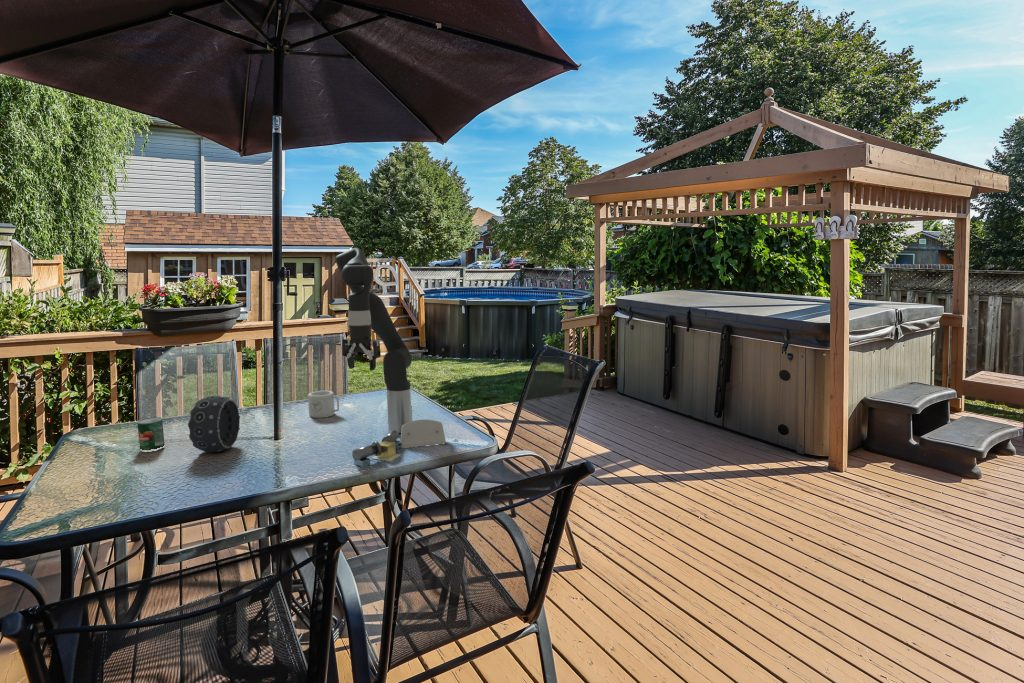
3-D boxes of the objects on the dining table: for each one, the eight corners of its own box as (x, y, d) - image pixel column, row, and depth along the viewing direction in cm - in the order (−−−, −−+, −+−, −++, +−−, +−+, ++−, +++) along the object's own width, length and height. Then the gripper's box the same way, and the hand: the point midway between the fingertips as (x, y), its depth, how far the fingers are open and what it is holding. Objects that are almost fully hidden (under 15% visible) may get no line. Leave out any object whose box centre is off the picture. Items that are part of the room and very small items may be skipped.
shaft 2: (387, 445, 218) (387, 428, 217) (400, 445, 218) (400, 428, 217) (382, 453, 209) (381, 436, 208) (395, 453, 209) (394, 436, 208)
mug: (304, 418, 256) (303, 395, 255) (316, 411, 267) (315, 389, 265) (333, 419, 254) (332, 396, 252) (344, 412, 264) (343, 390, 263)
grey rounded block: (400, 448, 214) (399, 421, 216) (400, 449, 219) (398, 422, 221) (446, 444, 218) (444, 417, 220) (445, 445, 223) (443, 418, 225)
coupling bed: (382, 452, 210) (382, 451, 210) (401, 455, 207) (401, 454, 207) (371, 458, 204) (371, 457, 204) (390, 461, 201) (390, 460, 201)
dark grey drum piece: (244, 441, 225) (239, 390, 222) (219, 459, 205) (214, 403, 202) (215, 442, 224) (210, 390, 221) (188, 460, 204) (183, 404, 202)
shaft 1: (360, 468, 195) (359, 449, 194) (351, 465, 198) (350, 446, 197) (382, 461, 202) (381, 443, 201) (373, 458, 205) (372, 440, 204)
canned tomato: (136, 453, 212) (132, 423, 211) (145, 446, 220) (142, 417, 218) (159, 452, 214) (156, 422, 212) (168, 445, 221) (165, 416, 220)
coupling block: (377, 457, 205) (376, 445, 204) (384, 453, 209) (384, 441, 208) (388, 459, 203) (387, 446, 202) (395, 454, 207) (395, 442, 206)
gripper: (336, 323, 203) (338, 370, 206) (371, 325, 198) (373, 372, 201) (349, 321, 210) (351, 366, 213) (383, 322, 205) (385, 368, 208)
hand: (362, 369), depth 207 cm, fingers open, 8 cm apart
